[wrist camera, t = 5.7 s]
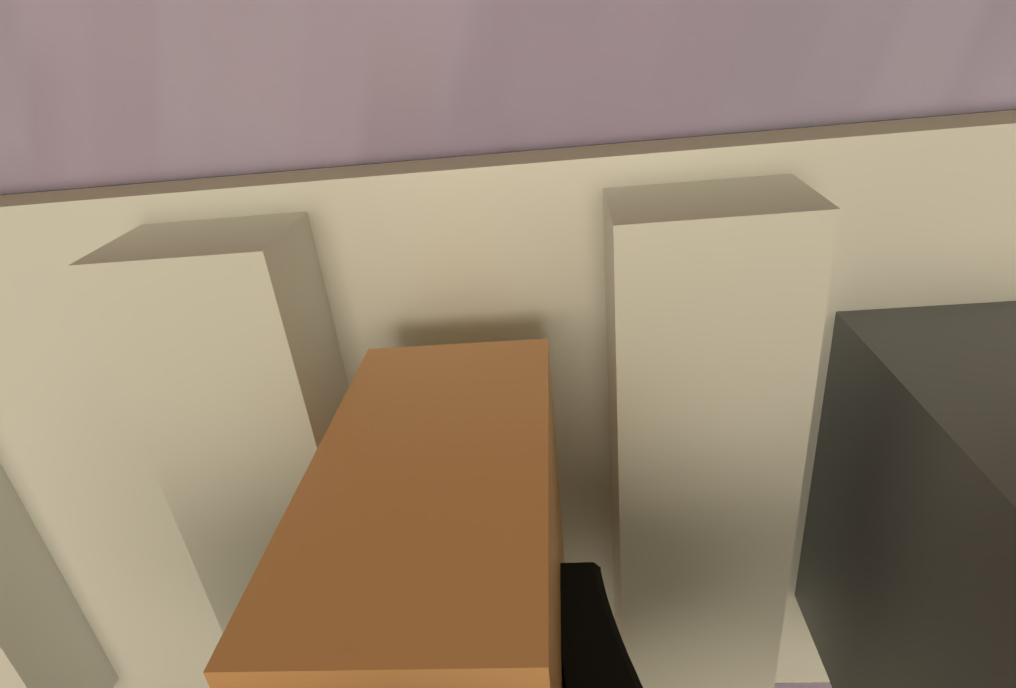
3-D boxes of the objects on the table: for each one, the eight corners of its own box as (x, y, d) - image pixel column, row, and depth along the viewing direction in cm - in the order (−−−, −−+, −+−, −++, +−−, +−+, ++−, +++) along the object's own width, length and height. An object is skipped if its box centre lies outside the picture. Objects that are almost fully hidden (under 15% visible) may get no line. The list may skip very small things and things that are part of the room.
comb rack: (1059, 642, 16) (1158, 766, 14) (46, 659, 19) (-36, 766, 16) (1295, 85, 11) (1546, 116, 8) (-227, 214, 13) (-427, 270, 10)
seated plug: (935, 592, 15) (1157, 932, 9) (794, 595, 15) (931, 928, 10) (1017, 300, 11) (1428, 565, 6) (836, 311, 12) (1076, 575, 6)
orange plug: (569, 634, 14) (582, 1022, 9) (429, 636, 14) (359, 1015, 9) (547, 339, 11) (549, 667, 6) (368, 348, 11) (202, 672, 6)
